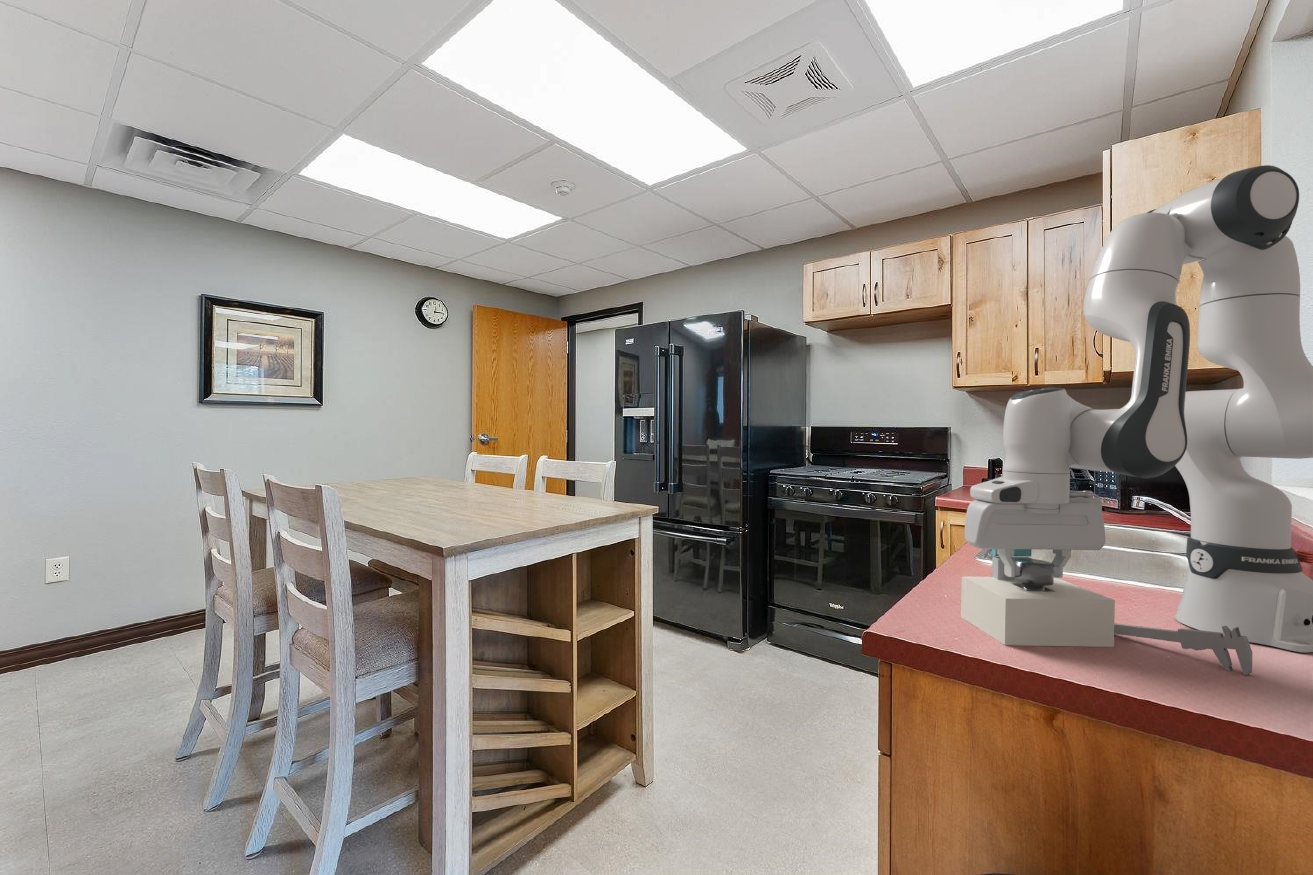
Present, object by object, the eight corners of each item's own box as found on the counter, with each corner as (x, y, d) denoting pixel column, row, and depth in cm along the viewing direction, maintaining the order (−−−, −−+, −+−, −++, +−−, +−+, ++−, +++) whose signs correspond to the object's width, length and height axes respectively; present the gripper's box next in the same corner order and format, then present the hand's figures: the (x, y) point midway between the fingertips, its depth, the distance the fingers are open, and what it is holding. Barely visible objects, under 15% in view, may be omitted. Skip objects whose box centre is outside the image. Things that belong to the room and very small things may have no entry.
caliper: (1252, 677, 72) (1253, 629, 71) (1248, 678, 71) (1249, 631, 71) (1077, 625, 90) (1078, 588, 90) (1073, 626, 90) (1074, 588, 89)
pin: (1037, 616, 89) (1039, 558, 89) (1060, 627, 84) (1062, 566, 84) (1005, 615, 89) (1006, 558, 89) (1026, 627, 84) (1027, 565, 84)
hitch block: (1055, 618, 93) (1057, 557, 92) (1113, 646, 81) (1115, 576, 80) (961, 617, 93) (962, 555, 93) (1004, 645, 81) (1006, 574, 81)
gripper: (1085, 488, 89) (1084, 572, 89) (960, 487, 90) (958, 570, 90) (1117, 493, 83) (1115, 583, 83) (982, 491, 83) (980, 581, 84)
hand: (1033, 576), depth 87 cm, fingers closed on pin, 5 cm apart
